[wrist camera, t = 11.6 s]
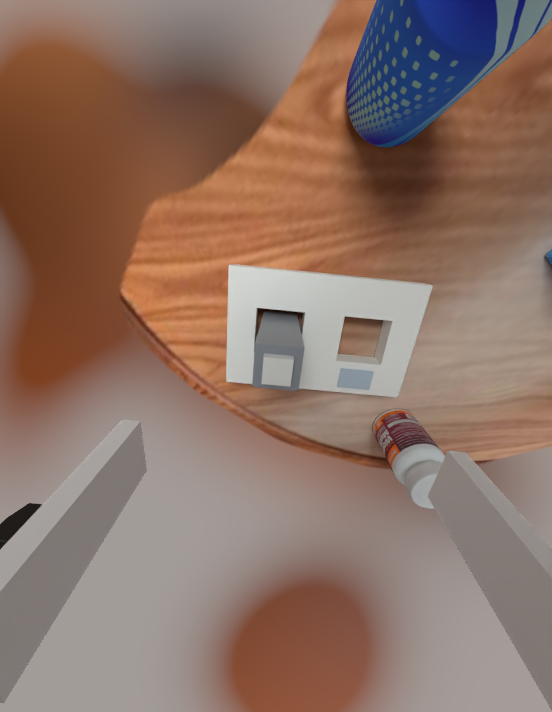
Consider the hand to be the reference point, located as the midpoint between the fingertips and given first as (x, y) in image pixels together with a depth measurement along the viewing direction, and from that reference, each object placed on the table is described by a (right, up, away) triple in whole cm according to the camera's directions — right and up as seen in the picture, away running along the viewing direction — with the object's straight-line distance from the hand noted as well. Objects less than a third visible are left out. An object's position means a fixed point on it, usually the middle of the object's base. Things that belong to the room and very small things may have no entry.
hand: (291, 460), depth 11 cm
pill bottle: (+16, -5, +27) cm, 32 cm away
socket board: (+5, +8, +21) cm, 23 cm away
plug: (0, +8, +21) cm, 23 cm away
